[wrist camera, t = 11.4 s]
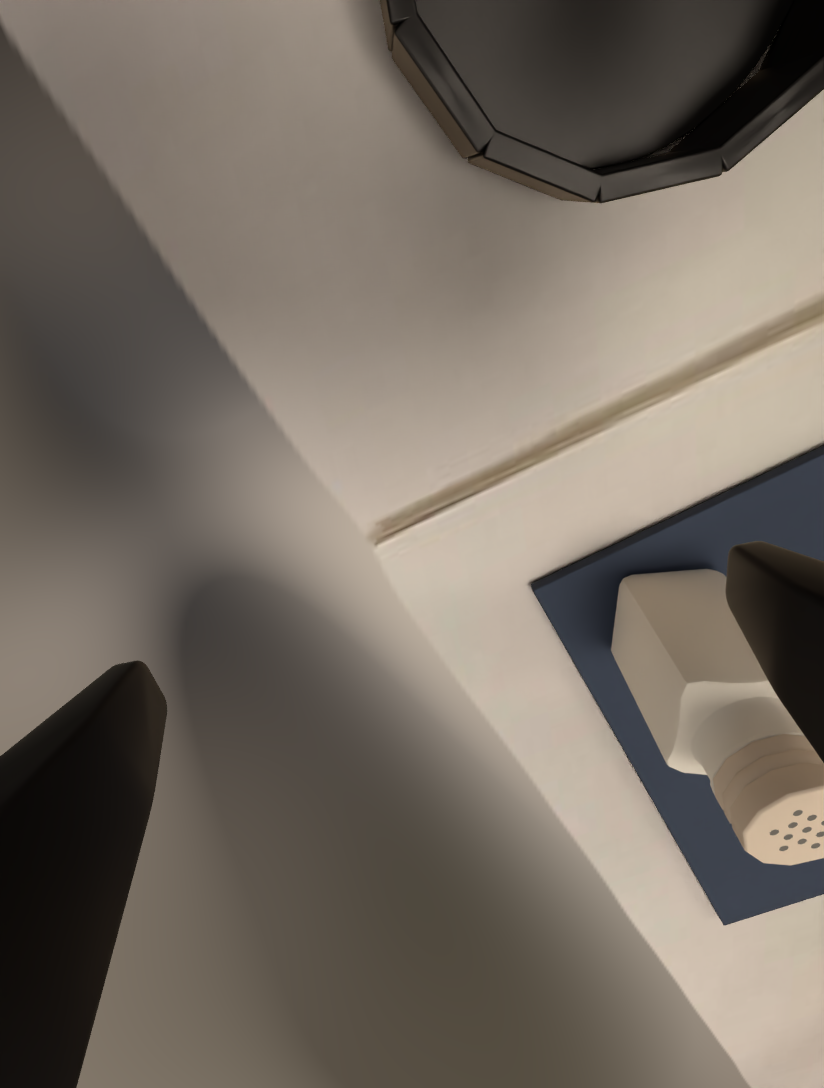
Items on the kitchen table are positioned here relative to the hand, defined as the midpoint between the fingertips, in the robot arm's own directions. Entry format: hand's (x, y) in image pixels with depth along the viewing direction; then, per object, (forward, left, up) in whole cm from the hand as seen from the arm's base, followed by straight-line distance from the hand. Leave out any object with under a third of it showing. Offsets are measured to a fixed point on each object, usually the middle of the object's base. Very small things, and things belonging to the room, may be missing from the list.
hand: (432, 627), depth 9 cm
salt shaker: (+8, -10, -12) cm, 17 cm away
